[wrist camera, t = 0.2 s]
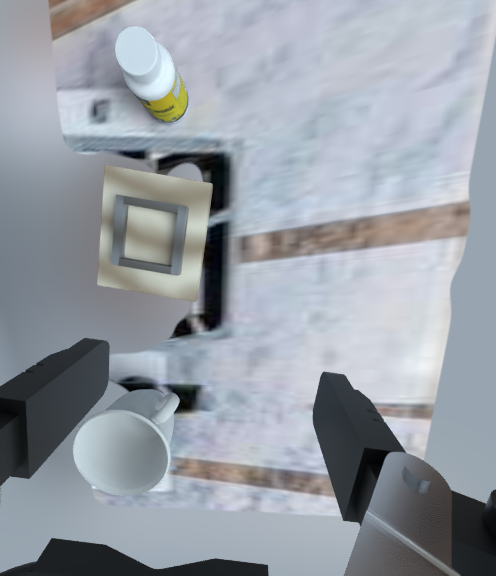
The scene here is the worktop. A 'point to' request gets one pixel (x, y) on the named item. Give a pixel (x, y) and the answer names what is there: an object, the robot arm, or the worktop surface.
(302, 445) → the worktop surface
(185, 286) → the seat board
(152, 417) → the teacup
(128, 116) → the worktop surface
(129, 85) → the supplement bottle
